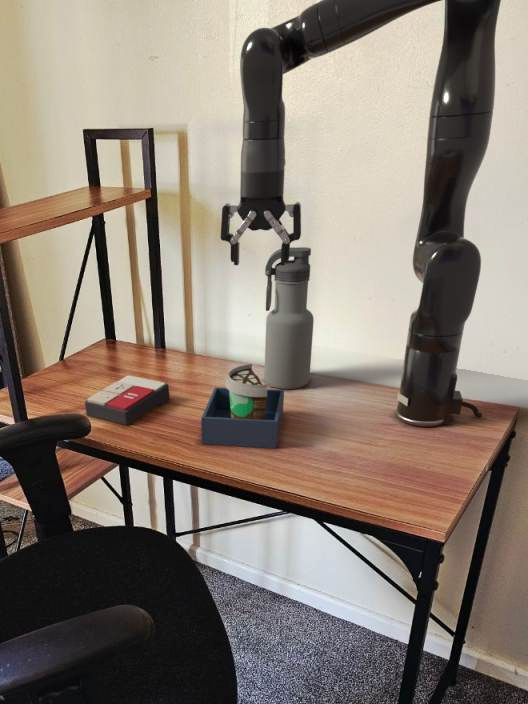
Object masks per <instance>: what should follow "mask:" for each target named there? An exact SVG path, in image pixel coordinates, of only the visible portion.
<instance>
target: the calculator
mask: <svg viewBox="0 0 528 704" xmlns="http://www.w3.org/2000/svg"><path fill="white" fill-rule="evenodd" d="M168 401H170V388H169V384H168V383H166V382H162V381H158V380H153V379H149V378H144V377H139V376H134V375H130V374H128V375H126V376H124V377H123V378H120V379H119V380H118V381H115V382H113V383H111V384H110V385H108V386H106V387H104V388H103V389H102V390H100V391H98V392H96V393H95V394H92V395H91V396H89V397H88V398H87V400H85V401H84V406H85V407H84V408H85V412H86V413H85V414H86V415H87V416H88V417H89V416H90V417H93V418H97V419H101V420H105V421H109V422H112V423H115V424H116V423H117V424H121V425H124V426H129V425H130V424H132V423H133V422H135V421H137V420H138V419H139V418H141V417H142V416H144V415H145V414H147V413H148V412H149V411H151V410H153V409H154V408H156V407H161V406H164V404H166V403H167V402H168Z"/></svg>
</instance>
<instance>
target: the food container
mask: <svg viewBox="0 0 528 704" xmlns="http://www.w3.org/2000/svg"><path fill="white" fill-rule="evenodd" d="M228 372H229V373H228V374H227V377H226V379H225V380H226V381H225V388H227V389H228V390H229V394H230V408H231V418H237V419H258V420H265V406H266V397H267V389H268V384H262V382H261V380H260V377H259V376H258V375H257V374H256V373H255V372H254V370H253V364H252V363H249V364H243V365H239V366H236V367H234V368H232V369H230V370H229V371H228Z"/></svg>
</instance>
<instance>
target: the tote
mask: <svg viewBox="0 0 528 704" xmlns="http://www.w3.org/2000/svg"><path fill="white" fill-rule="evenodd" d="M284 399H285V389H268V388H267V397H266V406H265V420H258V419H237V418H231V408H230V394H229V390H228V389H227V388H226V387H219V386H218V387H216V386H215V387H213V390H212V392H211V395H210V397H209V400H208V402H207V404H206V406H205V409H204V411H203V413H202V415H201V418H200V420H201V421H200V425H201V426H200V427H201V429H200V430H201V432H200V433H201V445H211V446H226V447H227V446H229V447H230V446H231V447H244V448H245V447H247V448H262V449H277V447H278V441H279V438H280V437H279V436H280V431H281V426H282V420H283V416H284V402H285V401H284Z"/></svg>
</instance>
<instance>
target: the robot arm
mask: <svg viewBox="0 0 528 704" xmlns="http://www.w3.org/2000/svg"><path fill="white" fill-rule="evenodd" d="M441 1H443V0H320V1H318V2H316V3H313V4H312V5H310V6H309V7H307V8H305V9H304V10H302V12H301V13H300V14H299V15H297V16H295V17H292V18H290V19H288V20H286V21H284V22H282V23H280V24H278V25H275V26H272V27H260V28H257V29H255V30H253V31H252V32H251V33H250V34H249V35H247V37H246V38H245V40H244V42H243V44H242V46H241V51H240V59H239V60H240V61H239V72H240V73H239V74H240V85H241V95H242V103H243V104H242V105H243V112H242V144H241V151H240V185H239V186H240V187H239V188H240V189H239V191H240V192H239V193H240V194H239V197H240V199H239V203H238V205H237V204H235V205H234V204H231V203H225V204H224V205H223V206H222V209H221V221H220V222H221V223H220V240H221V241H223V242H227V243H229V246H230V262H231V263H233V266H239V264H240V242H239V240H240V239H241V237H242V236H243V234H244V233H245V232H246V231H247V229H248V230H251V231H253V232H254V231H255V232H256V231H259V230H261V231H270V230H272V229H273V230H274V232H275V233H276V234H277V235H278V237H279V238H280V240H281V241H282V242H281V248H280V249H281V258H280V262H281V265H285V262H288V260H290V257H289V254H290V248H291V243H293V242H295V241H299V240H300V239H301V236H302V204H301V202H299V201H297V202H295V203H285V200H284V194H285V193H284V191H285V169H286V145H285V135H286V134H285V132H286V131H285V129H286V105H285V102H284V99H283V85H284V84H283V83H284V82H283V80H284V78H283V77H284V75H285V74H287V73H289V72H291V71H293V70H295V69H296V68H299V67H300V66H302V65H304V64H306V63H308V62H309V61H311V60H313V59H316V58H319V57H323V56H326V55H328V54H330V53H332V52H334V51H336V50H337V51H338V50H339V49H342V48H343V47H345V46H349V45H350V44H352V43H355V42H357V41H358V40H361V39H362V38H365V37H366V36H368V35H370V34H372V33H374V32H375V31H378V30H379V29H381V28H383V27H384V26H387V25H388V24H390V23H393V22H394V21H396V20H397V19H399V18H401V17H403V16H405V15H407V14H409V13H412V12H414V11H416V10H417V11H418V10H419V9H421V8H423V7H426V6H429V5H432V4H435V3H437V2H441ZM501 2H502V0H444V19H443V20H444V21H443V23H444V25H443V37H442V45H441V51H440V55H439V59H438V64H437V68H436V73H435V78H434V83H433V89H432V94H431V101H430V108H429V117H428V126H427V138H426V153H425V166H424V175H423V176H424V179H423V195H422V206H421V207H422V208H421V211H420V212H421V213H420V218H419V223H418V229H417V233H416V237H415V243H414V247H413V254H412V269H413V271H414V275H415V277H416V278H417V279H418V281H419V282H421V284H422V288H421V292H420V297H419V304H418V307H417V309H415V310H413V311H412V312H411V314H410V317H409V323H408V330H407V337H406V345H405V351H404V357H403V365H402V373H401V379H400V387H399V392H397V394H396V396H397V397H396V401H397V406H396V412H395V417H396V419H398V420H399V421H400V422H402V423H404V424H407V425H410V426H415V427H426V428H429V427H438V426H441V425H449V424H450V420H451V415H457V416H459V415H461V410H462V407H465V408H467V409H470V410H471V411H472V413H473V415H474V417H476V418H482V416H483V413H482V412H479V409H478V407H477V406H476V405H475V404H472V403H470V402H466V401H464V400H463V396H462V394H461V391H460V390H456V387H457V382H458V373H457V369H458V364H459V363H458V362H459V357H460V351H461V346H462V340H463V336H464V330H465V326H466V322H467V321H468V319H469V317H470V316H471V313H472V310H473V307H474V303H475V299H476V294H477V290H478V285H479V281H480V276H481V275H480V274H481V268H482V258H481V257H482V256H481V252H480V250H479V248H478V246H477V245H476V244H475V243H473V242H472V241H470V240H469V239H467V238H465V220H466V209H467V203H468V198H469V194H470V191H471V189H472V186H473V184H474V181H475V179H476V176H477V175H478V172H479V171H480V168H481V166H482V163H483V161H484V159H485V156H486V153H487V151H488V146H489V143H490V138H491V129H492V123H493V115H494V108H495V98H496V97H495V96H496V29H497V23H498V18H499V12H500V7H501ZM285 212H287V213H288V216H289V217H290V218H292V229H293V230H292V232H291V233H289V232H288V230H287V228H286V227H285V225H284V224H283V222H282V221H281V218H282V216H283V214H284V213H285ZM235 213H237V214H238V216H239V217H240V219H241V220H242V223H241V224H240V226H239V227H238V228H237V229H236V231H235V233H234V234H233V233H230V225H231V219H232V218H234V216H235Z"/></svg>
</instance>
